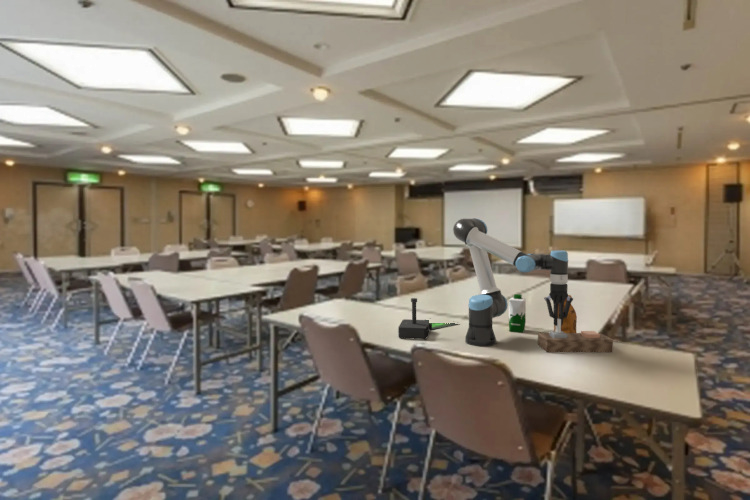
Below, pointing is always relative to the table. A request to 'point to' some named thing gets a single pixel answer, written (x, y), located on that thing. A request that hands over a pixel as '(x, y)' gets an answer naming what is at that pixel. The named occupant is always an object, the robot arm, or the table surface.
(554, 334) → the slate key
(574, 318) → the coffee package
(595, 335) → the terracotta key
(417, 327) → the black joystick
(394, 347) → the table surface
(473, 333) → the robot arm
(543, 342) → the brown woven basket
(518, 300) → the milk carton
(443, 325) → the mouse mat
